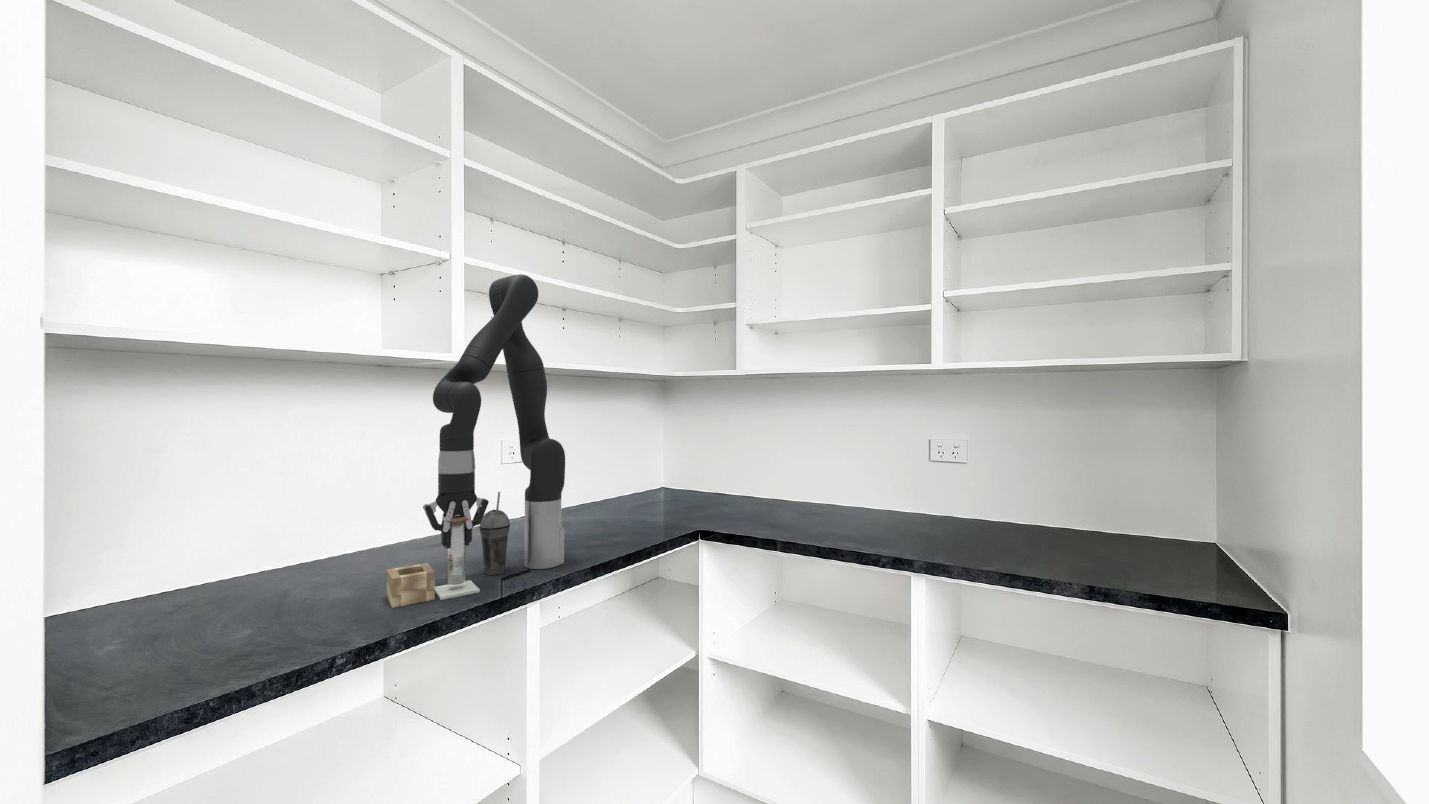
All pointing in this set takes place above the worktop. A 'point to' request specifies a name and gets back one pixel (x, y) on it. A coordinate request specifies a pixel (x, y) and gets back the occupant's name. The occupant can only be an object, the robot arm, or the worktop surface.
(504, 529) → the beverage cup
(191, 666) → the worktop surface
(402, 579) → the oak eye block
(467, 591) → the sage mat
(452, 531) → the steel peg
